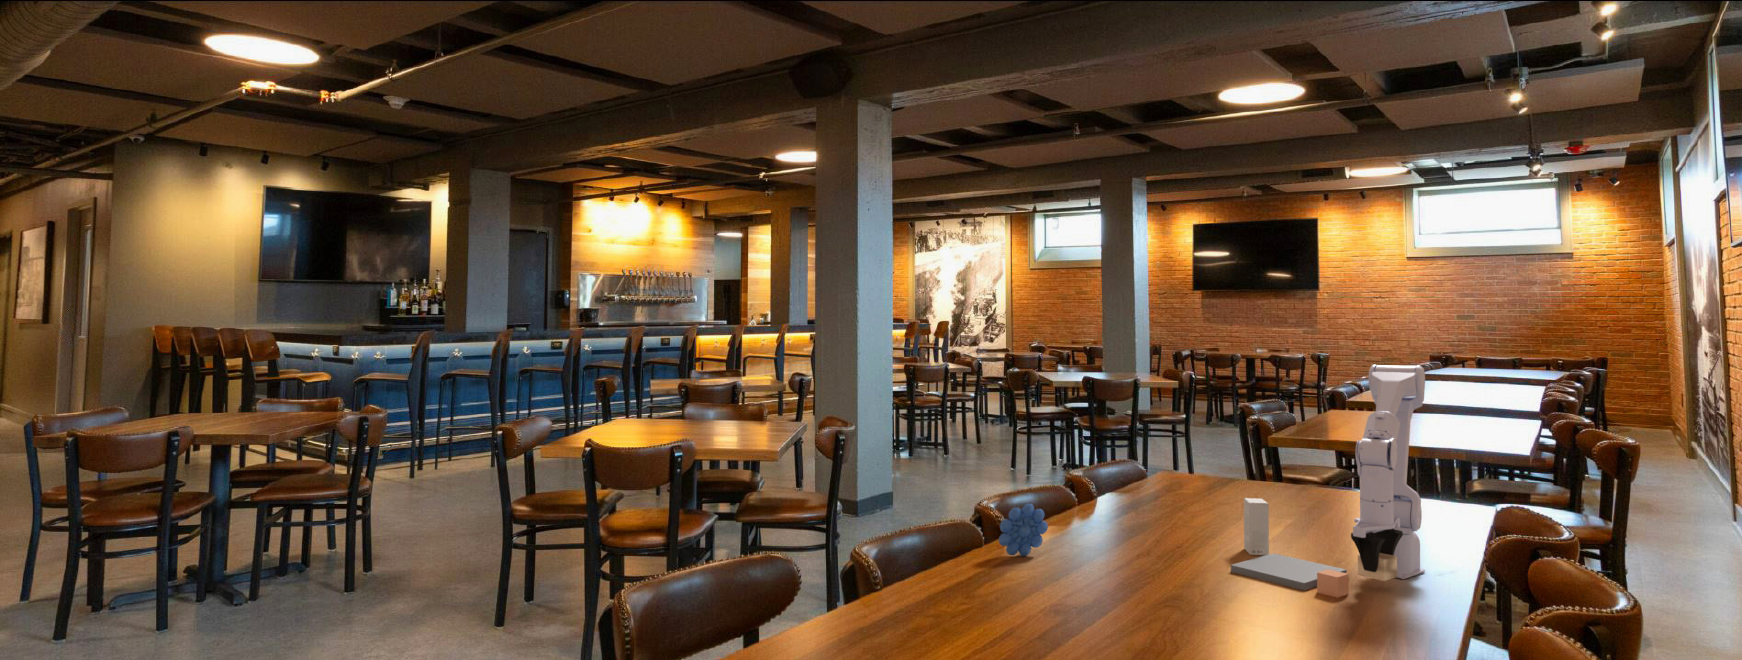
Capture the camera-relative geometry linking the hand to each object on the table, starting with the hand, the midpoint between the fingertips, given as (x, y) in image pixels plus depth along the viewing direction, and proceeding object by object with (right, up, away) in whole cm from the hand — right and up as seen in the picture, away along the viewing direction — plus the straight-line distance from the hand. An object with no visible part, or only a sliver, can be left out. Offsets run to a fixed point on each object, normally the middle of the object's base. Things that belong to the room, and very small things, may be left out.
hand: (1377, 568), depth 169 cm
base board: (-12, -4, +11) cm, 17 cm away
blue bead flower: (-65, -5, +28) cm, 71 cm away
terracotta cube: (-10, -5, -2) cm, 11 cm away
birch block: (0, -2, 0) cm, 2 cm away
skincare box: (-11, -5, +29) cm, 31 cm away
